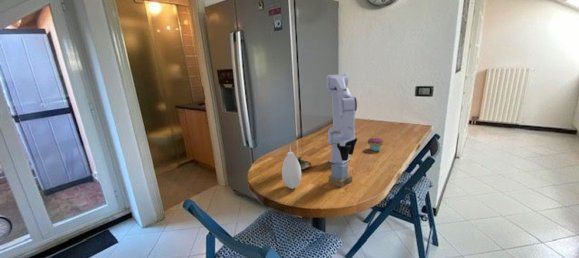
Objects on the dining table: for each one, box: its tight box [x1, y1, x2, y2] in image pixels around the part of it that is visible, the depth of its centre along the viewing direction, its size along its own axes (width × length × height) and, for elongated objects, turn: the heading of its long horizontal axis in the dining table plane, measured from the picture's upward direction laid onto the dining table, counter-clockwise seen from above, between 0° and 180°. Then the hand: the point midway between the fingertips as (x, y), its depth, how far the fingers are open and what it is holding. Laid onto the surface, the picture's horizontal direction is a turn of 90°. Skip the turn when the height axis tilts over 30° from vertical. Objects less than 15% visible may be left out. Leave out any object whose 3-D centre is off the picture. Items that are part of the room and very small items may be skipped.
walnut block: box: [328, 174, 353, 188], centre depth 107 cm, size 7×7×3 cm
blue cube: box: [330, 162, 349, 180], centre depth 106 cm, size 5×5×5 cm
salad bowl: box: [294, 152, 312, 171], centre depth 124 cm, size 12×12×8 cm
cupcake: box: [367, 129, 385, 152], centre depth 143 cm, size 9×8×12 cm
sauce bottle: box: [281, 146, 302, 190], centre depth 102 cm, size 8×8×18 cm
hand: (347, 157), depth 108 cm, fingers open, 7 cm apart
